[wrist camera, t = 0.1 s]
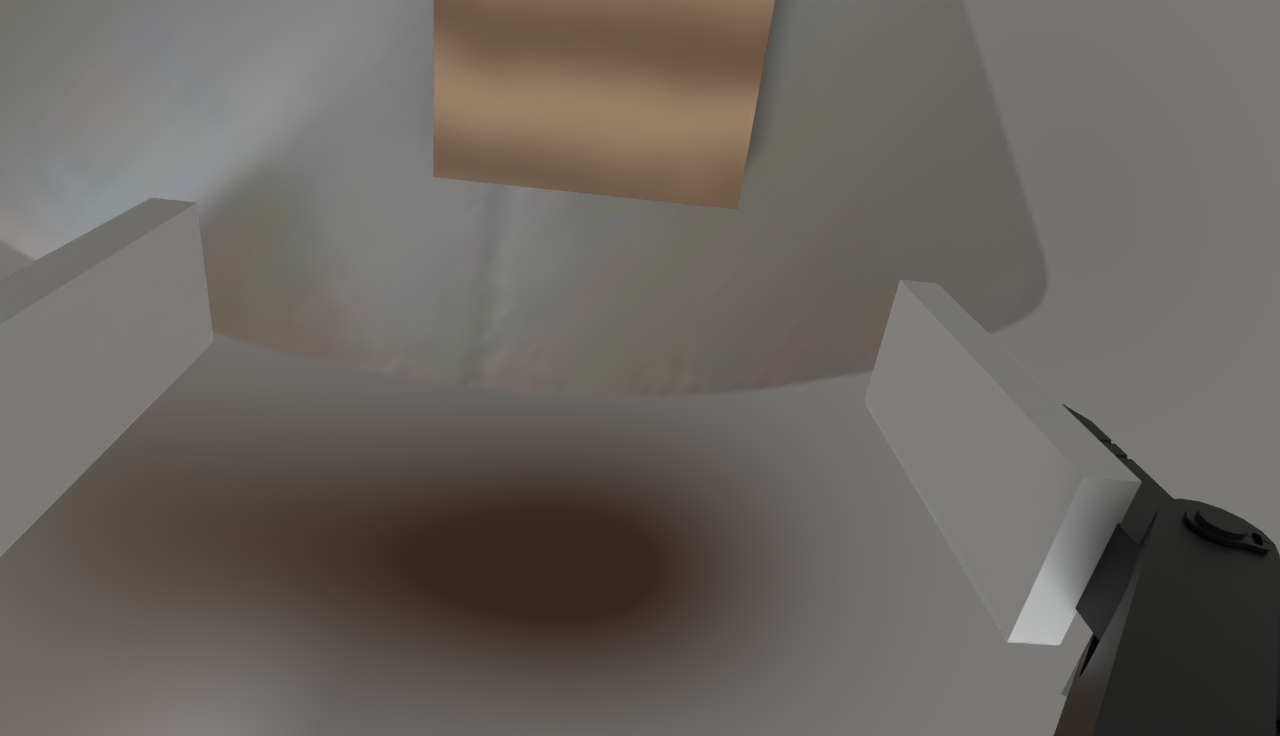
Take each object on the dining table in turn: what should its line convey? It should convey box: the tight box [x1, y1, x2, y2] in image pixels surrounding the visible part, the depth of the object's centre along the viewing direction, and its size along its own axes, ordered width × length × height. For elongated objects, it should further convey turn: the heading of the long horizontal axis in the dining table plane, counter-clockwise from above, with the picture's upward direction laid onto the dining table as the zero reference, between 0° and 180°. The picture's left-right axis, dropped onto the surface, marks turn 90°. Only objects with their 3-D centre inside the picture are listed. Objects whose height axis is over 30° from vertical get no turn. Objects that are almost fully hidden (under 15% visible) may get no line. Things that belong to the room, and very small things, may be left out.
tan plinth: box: [434, 0, 775, 209], centre depth 37 cm, size 15×15×3 cm
